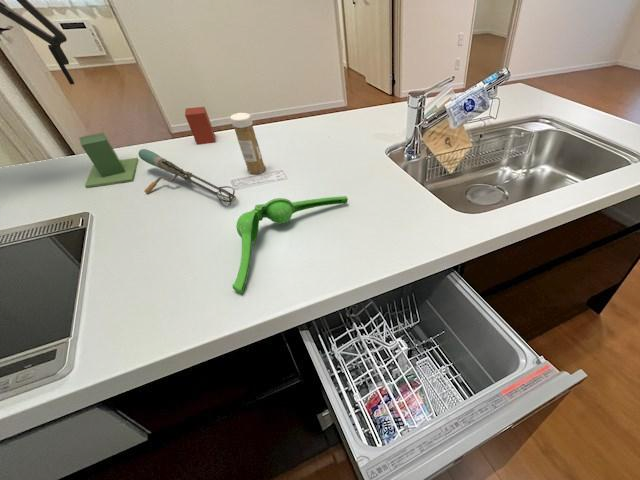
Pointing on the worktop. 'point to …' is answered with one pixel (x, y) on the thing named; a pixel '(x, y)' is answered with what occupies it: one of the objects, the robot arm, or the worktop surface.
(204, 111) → the red block
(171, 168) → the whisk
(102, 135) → the green block
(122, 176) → the sage mat
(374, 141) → the worktop surface
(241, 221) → the lime squeezer
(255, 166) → the sprinkles bottle
